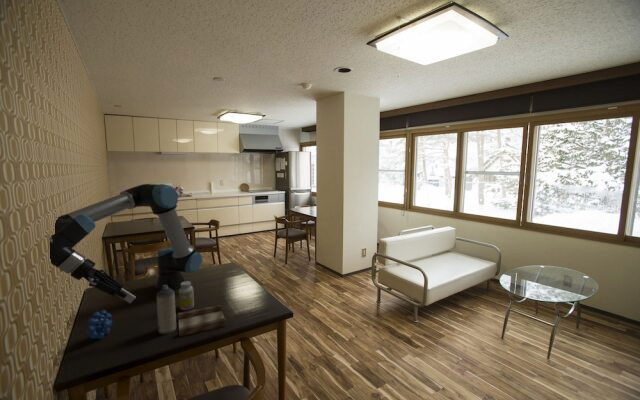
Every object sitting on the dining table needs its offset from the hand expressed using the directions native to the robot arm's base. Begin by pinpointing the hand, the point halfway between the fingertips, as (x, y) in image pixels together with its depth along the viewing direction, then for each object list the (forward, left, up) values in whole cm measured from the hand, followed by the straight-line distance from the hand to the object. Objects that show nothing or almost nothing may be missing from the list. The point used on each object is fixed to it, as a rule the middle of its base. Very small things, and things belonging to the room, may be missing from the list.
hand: (133, 299), depth 117 cm
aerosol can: (+6, +10, -16) cm, 20 cm away
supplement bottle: (-4, +27, -17) cm, 32 cm away
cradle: (+14, +21, -16) cm, 30 cm away
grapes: (-11, -7, -16) cm, 21 cm away
